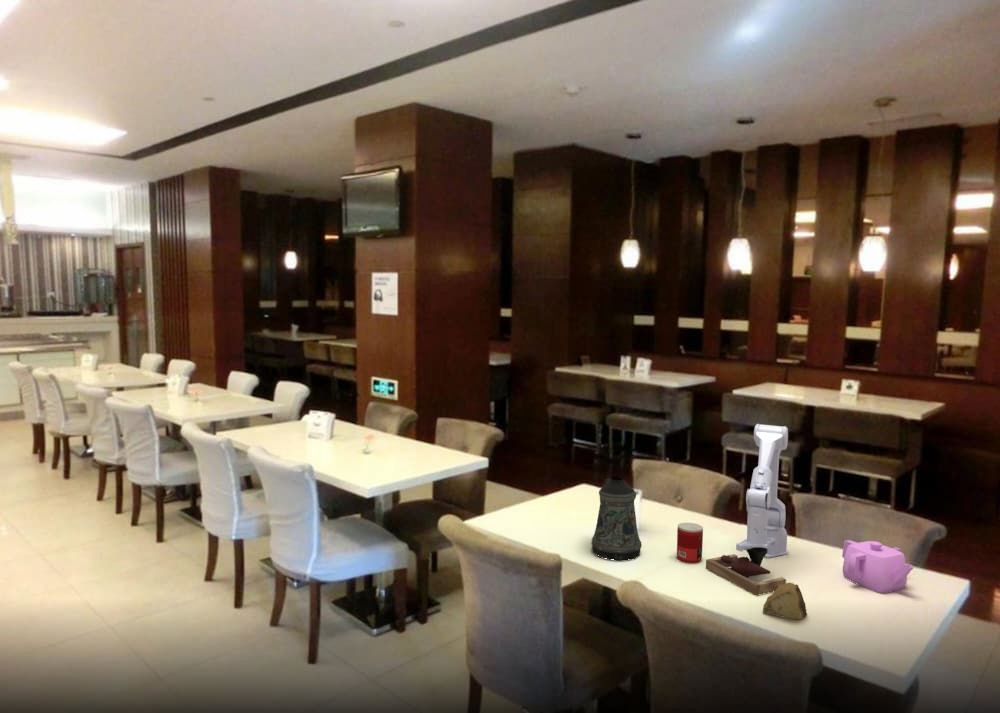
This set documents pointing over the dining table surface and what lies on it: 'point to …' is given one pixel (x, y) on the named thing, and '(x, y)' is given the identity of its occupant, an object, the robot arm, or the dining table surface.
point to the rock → (786, 602)
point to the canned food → (689, 542)
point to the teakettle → (875, 566)
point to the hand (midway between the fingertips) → (755, 570)
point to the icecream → (744, 566)
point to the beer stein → (616, 522)
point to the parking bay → (742, 577)
